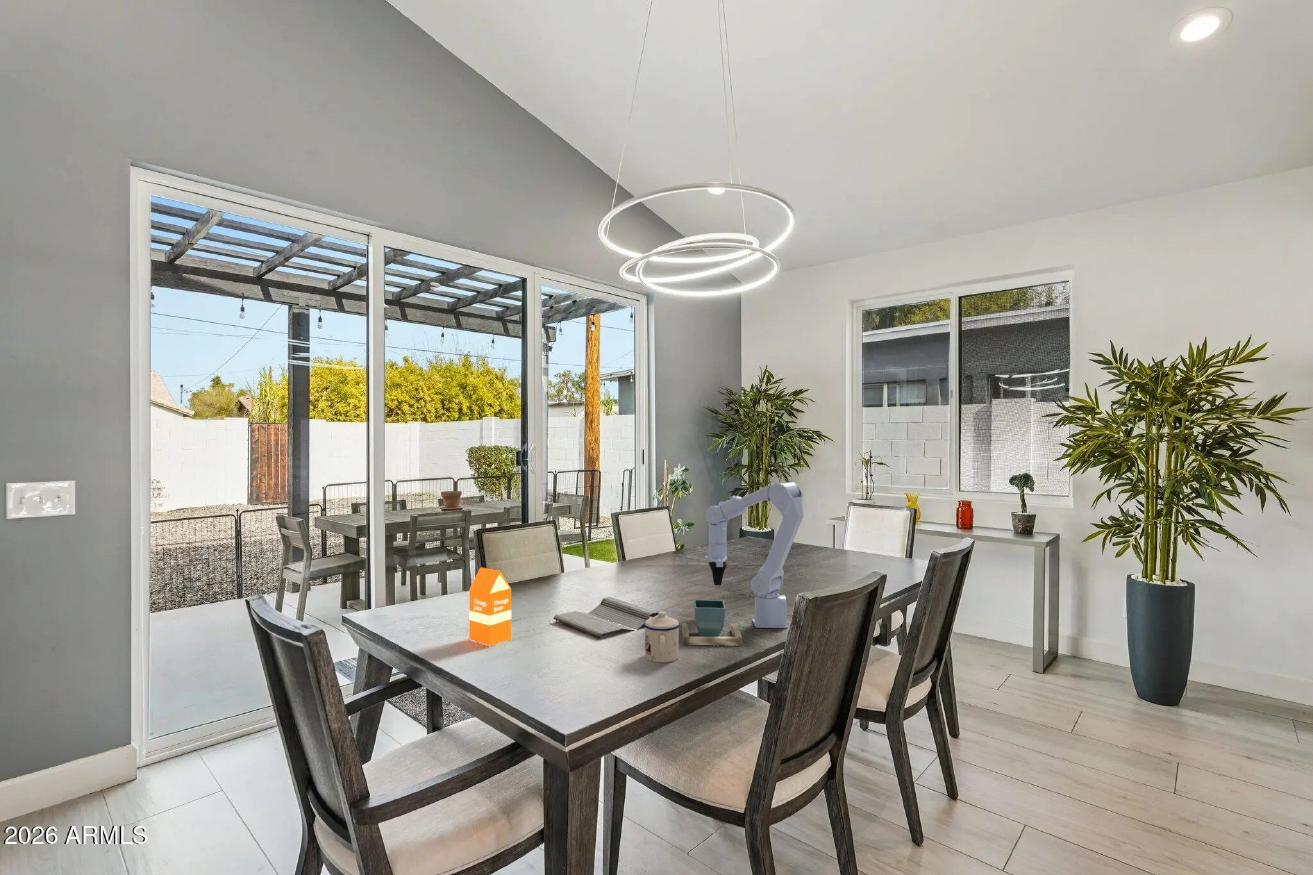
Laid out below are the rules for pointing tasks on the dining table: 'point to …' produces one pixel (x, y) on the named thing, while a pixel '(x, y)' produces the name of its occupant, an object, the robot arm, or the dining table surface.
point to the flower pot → (709, 617)
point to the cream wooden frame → (713, 638)
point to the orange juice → (489, 608)
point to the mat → (607, 617)
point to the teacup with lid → (661, 638)
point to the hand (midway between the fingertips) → (717, 584)
